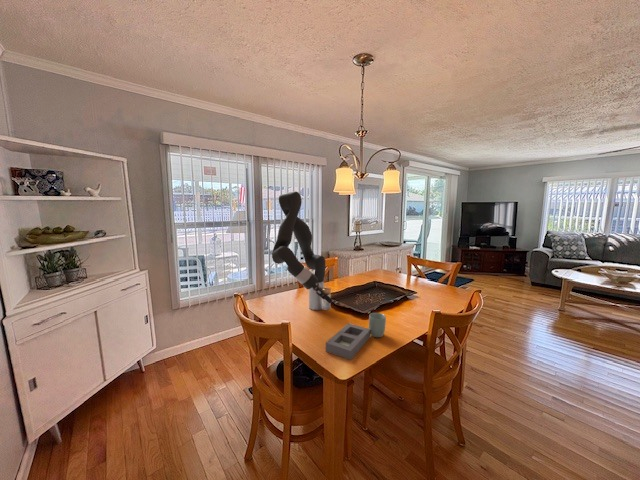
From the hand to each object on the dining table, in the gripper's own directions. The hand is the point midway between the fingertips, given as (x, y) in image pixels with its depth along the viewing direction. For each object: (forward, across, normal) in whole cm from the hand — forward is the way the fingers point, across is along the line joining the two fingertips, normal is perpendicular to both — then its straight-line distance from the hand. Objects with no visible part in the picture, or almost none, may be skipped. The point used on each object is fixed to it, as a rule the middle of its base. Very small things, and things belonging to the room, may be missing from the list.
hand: (329, 299), depth 129 cm
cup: (+26, -9, -4) cm, 28 cm away
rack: (+16, -14, +7) cm, 22 cm away
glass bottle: (+2, 0, +4) cm, 5 cm away
